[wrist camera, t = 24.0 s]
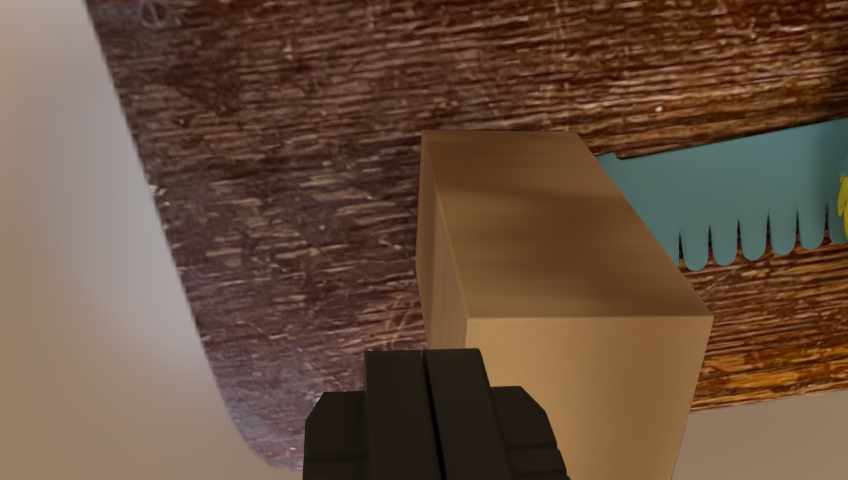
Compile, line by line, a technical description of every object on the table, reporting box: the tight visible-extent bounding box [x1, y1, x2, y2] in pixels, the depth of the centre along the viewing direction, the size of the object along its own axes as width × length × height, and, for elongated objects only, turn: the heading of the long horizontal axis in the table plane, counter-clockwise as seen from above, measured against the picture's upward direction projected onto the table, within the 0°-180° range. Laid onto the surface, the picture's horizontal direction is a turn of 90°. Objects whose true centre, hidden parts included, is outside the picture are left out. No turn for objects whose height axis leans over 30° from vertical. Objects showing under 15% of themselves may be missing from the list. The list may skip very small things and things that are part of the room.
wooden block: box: [415, 130, 714, 480], centre depth 29 cm, size 7×7×15 cm
